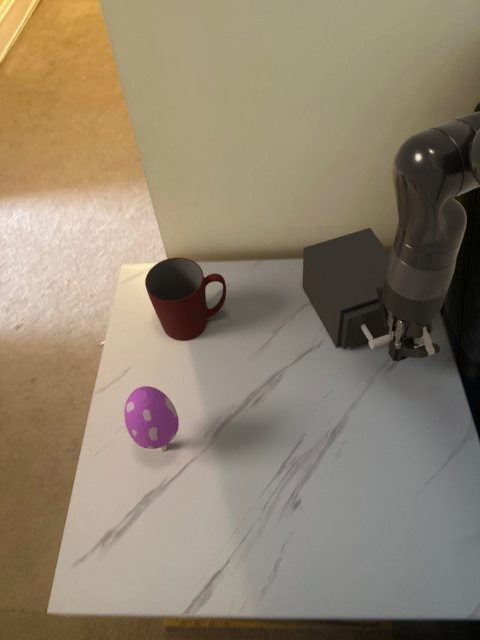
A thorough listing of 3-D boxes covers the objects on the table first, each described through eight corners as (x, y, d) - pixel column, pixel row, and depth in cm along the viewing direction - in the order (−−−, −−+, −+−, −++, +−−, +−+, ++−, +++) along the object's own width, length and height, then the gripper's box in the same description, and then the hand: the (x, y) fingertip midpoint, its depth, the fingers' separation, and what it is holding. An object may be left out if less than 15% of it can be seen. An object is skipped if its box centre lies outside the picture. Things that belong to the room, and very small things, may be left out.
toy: (132, 463, 79) (104, 412, 67) (150, 421, 83) (127, 366, 71) (176, 475, 77) (156, 425, 66) (193, 432, 81) (176, 378, 69)
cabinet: (402, 325, 90) (413, 286, 82) (336, 348, 88) (340, 310, 81) (363, 267, 98) (370, 227, 90) (302, 287, 96) (303, 247, 89)
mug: (227, 296, 96) (221, 251, 88) (233, 338, 91) (227, 294, 82) (157, 306, 96) (144, 261, 87) (159, 348, 91) (145, 305, 82)
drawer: (418, 350, 86) (427, 319, 80) (355, 371, 84) (361, 341, 78) (367, 274, 96) (372, 241, 90) (311, 292, 94) (312, 260, 88)
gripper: (477, 305, 64) (445, 384, 78) (417, 230, 72) (397, 314, 86) (418, 325, 63) (396, 401, 77) (364, 247, 71) (352, 329, 84)
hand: (396, 355), depth 81 cm, fingers closed
